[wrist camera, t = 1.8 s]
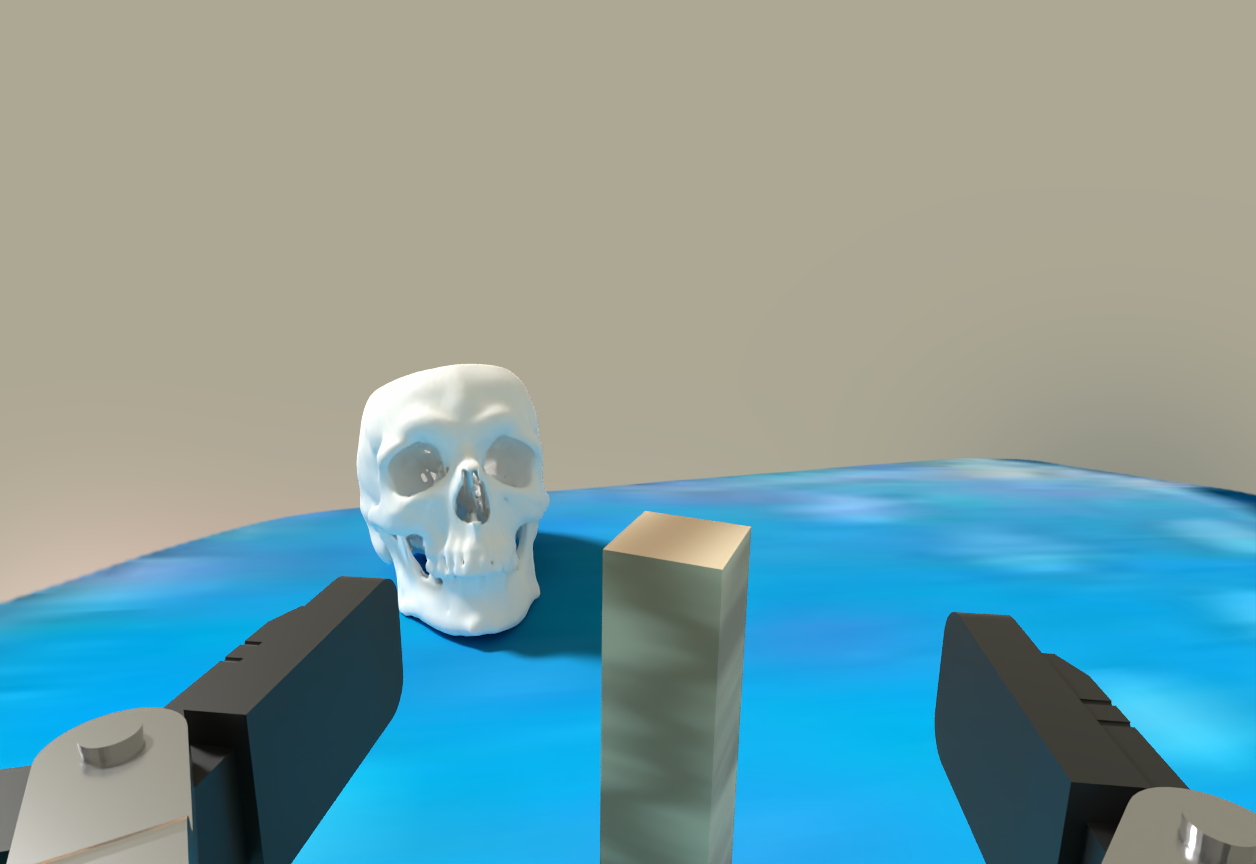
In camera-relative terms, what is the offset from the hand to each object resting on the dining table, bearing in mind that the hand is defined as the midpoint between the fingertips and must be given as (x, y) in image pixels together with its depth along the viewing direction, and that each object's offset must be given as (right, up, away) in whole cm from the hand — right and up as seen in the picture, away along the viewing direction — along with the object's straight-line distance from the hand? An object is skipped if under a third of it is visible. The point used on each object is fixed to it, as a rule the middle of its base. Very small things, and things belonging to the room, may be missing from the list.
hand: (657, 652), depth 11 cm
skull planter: (-13, -8, +46) cm, 49 cm away
